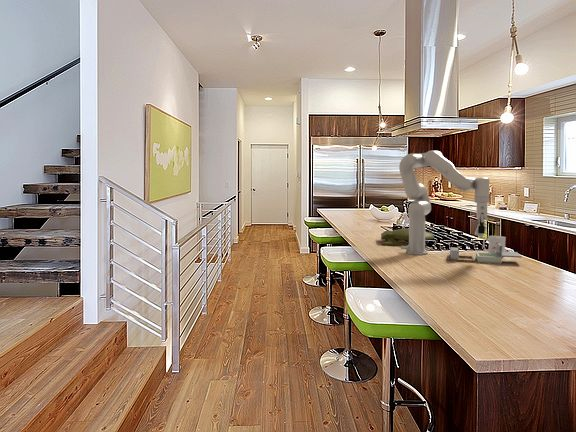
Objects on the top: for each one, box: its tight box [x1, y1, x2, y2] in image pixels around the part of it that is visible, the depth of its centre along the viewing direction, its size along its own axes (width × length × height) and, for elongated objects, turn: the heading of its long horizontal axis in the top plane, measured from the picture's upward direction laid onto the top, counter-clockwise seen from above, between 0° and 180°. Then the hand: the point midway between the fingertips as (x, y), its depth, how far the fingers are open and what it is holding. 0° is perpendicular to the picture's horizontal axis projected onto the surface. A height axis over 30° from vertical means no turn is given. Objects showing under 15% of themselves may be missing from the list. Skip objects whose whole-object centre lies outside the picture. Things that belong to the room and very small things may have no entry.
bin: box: [475, 251, 503, 265], centre depth 272 cm, size 12×12×4 cm
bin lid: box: [494, 243, 522, 259], centre depth 268 cm, size 12×12×6 cm
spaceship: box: [380, 227, 435, 247], centre depth 332 cm, size 35×31×10 cm
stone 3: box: [474, 223, 487, 238], centre depth 271 cm, size 4×4×6 cm
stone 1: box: [449, 246, 459, 254], centre depth 279 cm, size 4×4×6 cm
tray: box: [446, 254, 476, 263], centre depth 276 cm, size 14×13×1 cm
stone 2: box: [449, 248, 460, 259], centre depth 273 cm, size 4×4×6 cm
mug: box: [482, 235, 507, 253], centre depth 287 cm, size 12×9×11 cm
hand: (480, 232), depth 271 cm, fingers closed on stone 3, 3 cm apart
